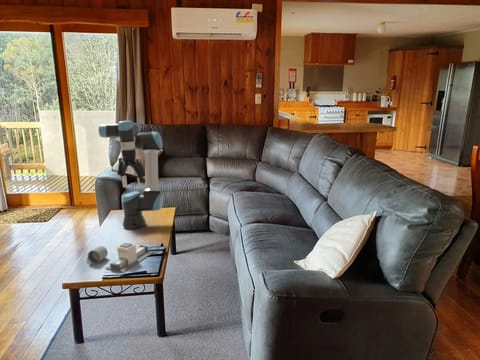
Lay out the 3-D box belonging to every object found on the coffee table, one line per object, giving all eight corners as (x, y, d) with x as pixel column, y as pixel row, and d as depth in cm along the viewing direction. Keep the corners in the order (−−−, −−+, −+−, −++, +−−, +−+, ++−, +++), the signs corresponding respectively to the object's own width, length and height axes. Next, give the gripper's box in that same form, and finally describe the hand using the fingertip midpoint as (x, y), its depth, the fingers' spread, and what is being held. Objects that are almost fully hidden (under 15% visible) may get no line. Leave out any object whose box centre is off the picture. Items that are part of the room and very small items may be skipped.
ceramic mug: (109, 257, 193) (107, 244, 191) (100, 264, 185) (98, 251, 183) (92, 256, 195) (90, 244, 193) (83, 263, 187) (81, 250, 185)
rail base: (136, 249, 201) (136, 244, 200) (153, 252, 196) (152, 247, 195) (105, 268, 180) (104, 262, 179) (123, 272, 175) (122, 266, 174)
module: (127, 257, 190) (124, 241, 188) (137, 259, 187) (135, 243, 185) (118, 262, 185) (116, 246, 182) (129, 264, 182) (127, 247, 180)
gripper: (107, 149, 194) (112, 187, 199) (140, 150, 184) (144, 190, 190) (117, 147, 200) (121, 184, 206) (149, 148, 191) (153, 187, 196)
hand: (132, 187), depth 198 cm, fingers open, 10 cm apart
